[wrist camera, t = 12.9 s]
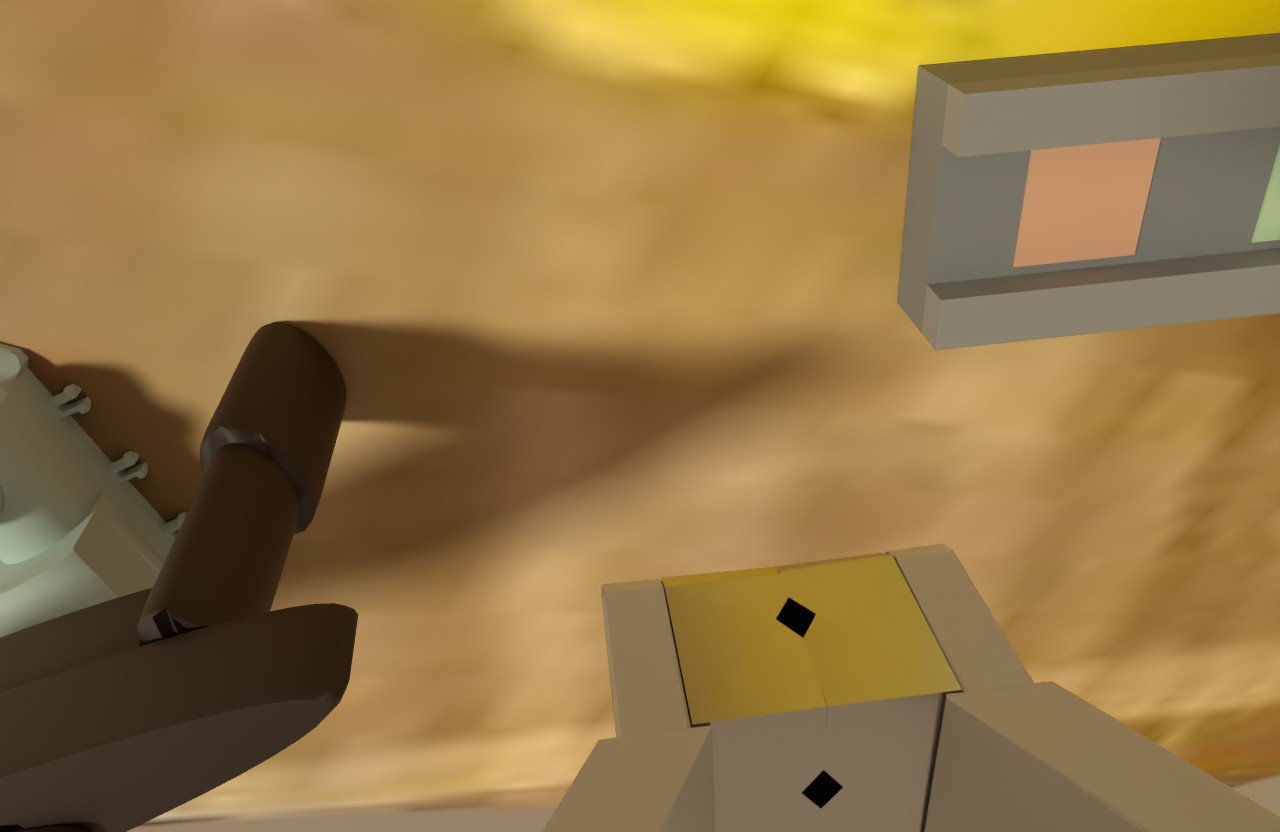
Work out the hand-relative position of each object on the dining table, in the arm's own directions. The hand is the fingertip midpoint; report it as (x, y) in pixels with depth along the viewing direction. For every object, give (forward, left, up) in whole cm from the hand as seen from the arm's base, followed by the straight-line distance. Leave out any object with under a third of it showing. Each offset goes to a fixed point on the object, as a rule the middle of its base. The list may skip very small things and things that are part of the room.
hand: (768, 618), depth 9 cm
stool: (+29, -1, -31) cm, 43 cm away
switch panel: (-14, +21, -31) cm, 40 cm away
